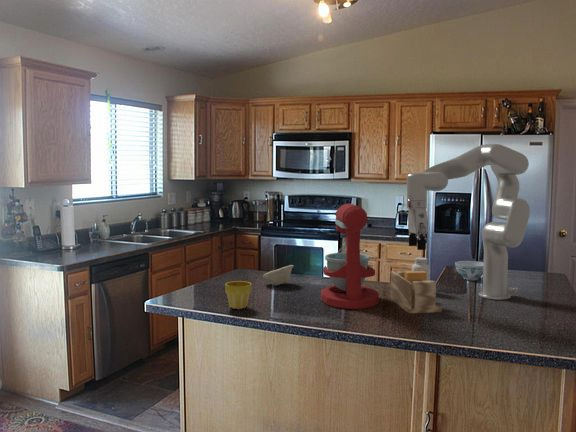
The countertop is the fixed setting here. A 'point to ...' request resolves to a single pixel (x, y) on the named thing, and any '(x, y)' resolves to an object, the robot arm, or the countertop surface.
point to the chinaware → (469, 269)
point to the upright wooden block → (415, 276)
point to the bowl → (279, 275)
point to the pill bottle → (422, 266)
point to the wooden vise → (414, 294)
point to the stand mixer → (349, 264)
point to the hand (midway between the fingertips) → (417, 247)
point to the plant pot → (238, 293)
